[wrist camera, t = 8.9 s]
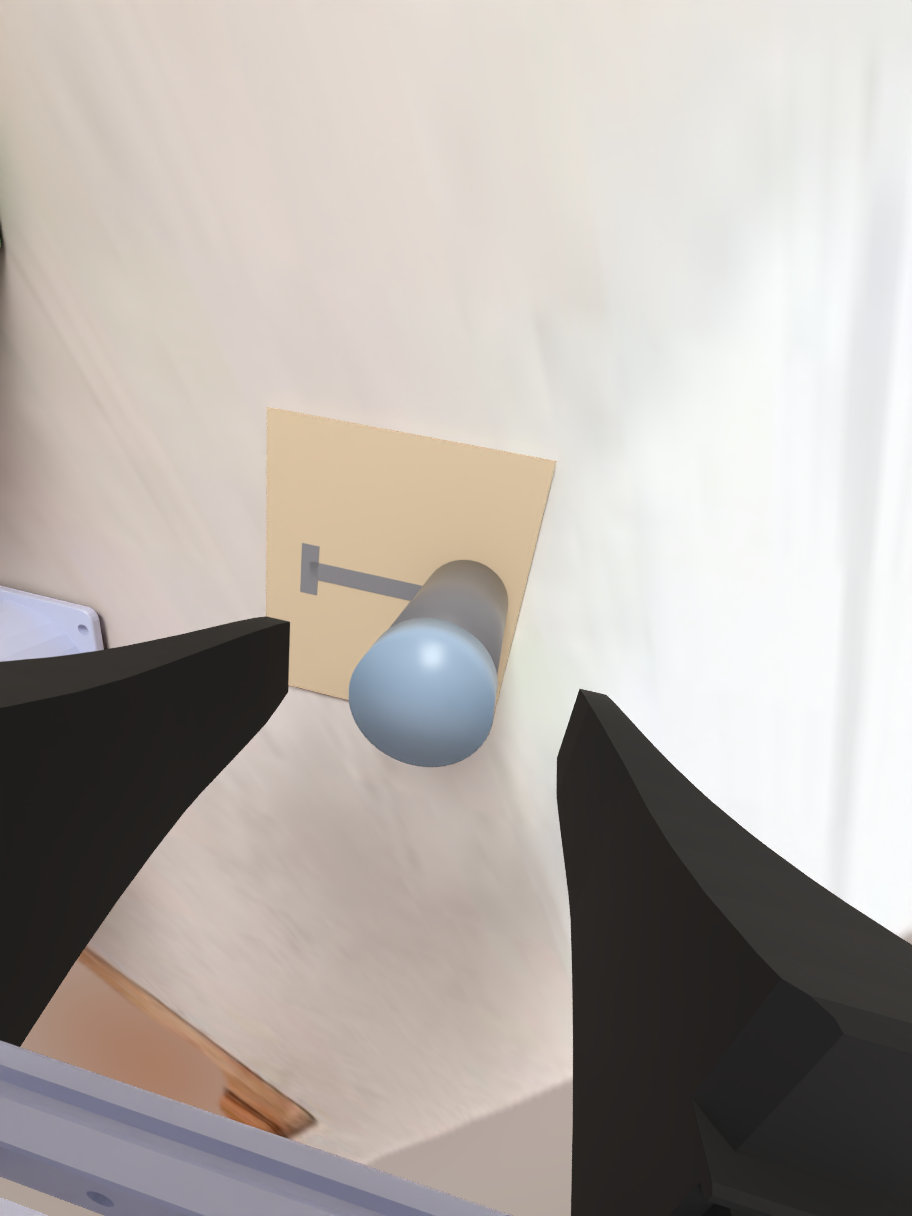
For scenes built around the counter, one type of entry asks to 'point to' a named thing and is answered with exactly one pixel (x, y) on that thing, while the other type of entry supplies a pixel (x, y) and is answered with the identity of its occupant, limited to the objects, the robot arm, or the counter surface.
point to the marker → (435, 669)
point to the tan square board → (384, 532)
